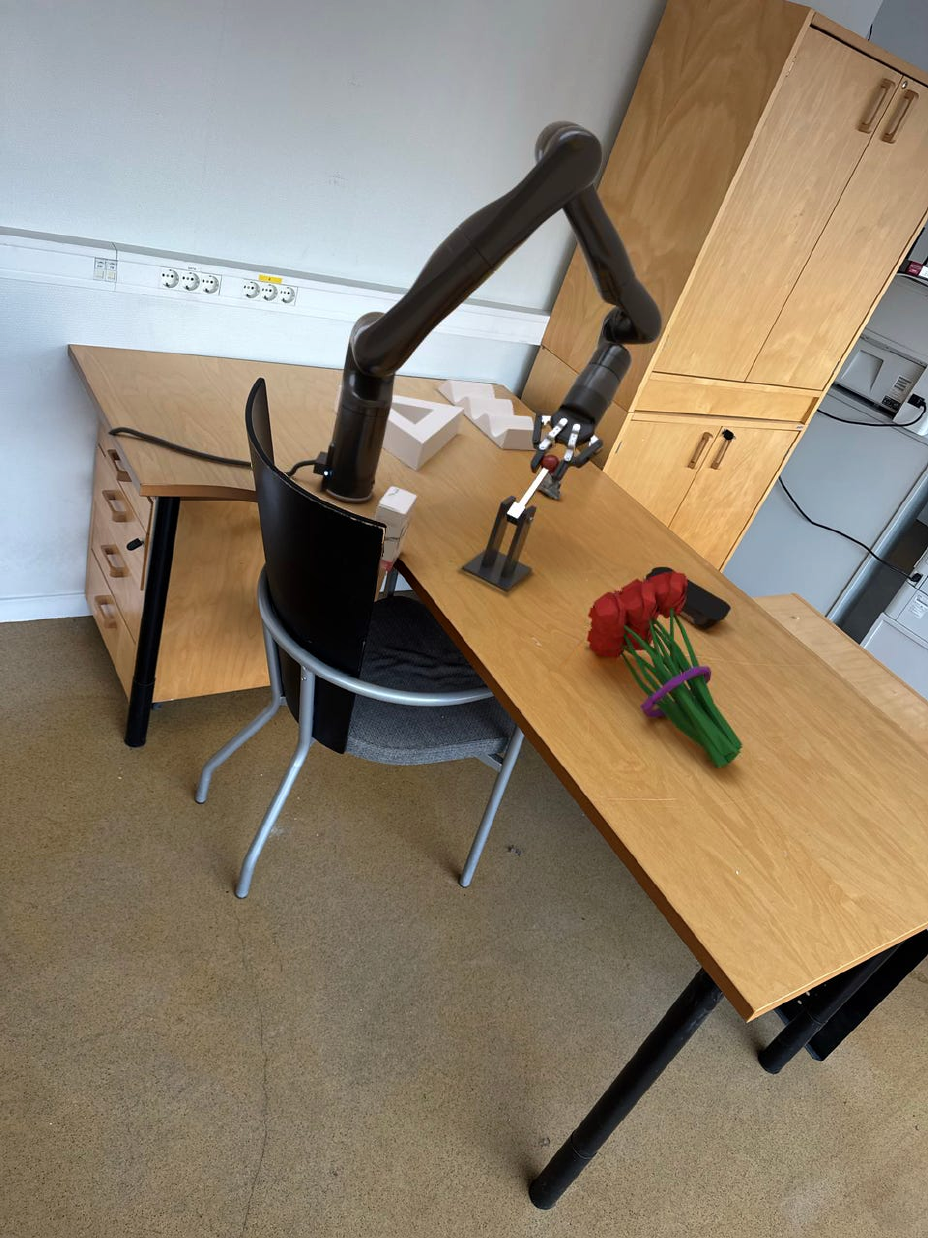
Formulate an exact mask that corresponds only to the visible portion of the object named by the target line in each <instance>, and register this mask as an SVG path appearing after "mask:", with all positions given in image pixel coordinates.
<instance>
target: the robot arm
mask: <svg viewBox="0 0 928 1238" xmlns="http://www.w3.org/2000/svg"><path fill="white" fill-rule="evenodd" d="M533 158H534V164H535V165H534V166H533V167H532V168H531V170H530V171H529V172H528V173H527V174H526V175H525V176H524V177H523V178H522V180H520V181H519V182H518V183H517V184H516V186H514V187H513V188H511V190H509V191H508V192H506V193H505V194H503V195H502V196H499V198H497V199H495V200H493V201H491V202H490V203H487V204H486V205H484V206H483V207H481V208H479V209H478V210H476V211H475V212H473V213H472V214H471V215H469V216H468V217H466V218H465V219H464V220H462V222H461V223H460V224H459V225H457V226H456V228H455V229H454V230H453V231H452V232H450V233H449V234H448V236H446V238H444V240H443V241H442V242H441V243H440V244H439V245H438V246H437V247H436V248H435V250H433V252H432V254H431V255H430V256H429V258H428V259H427V260H426V262H425V263H424V265H423V267H422V268H421V270H420V272H419V274H418V275H417V276H416V278H415V279H414V282H413V283H412V285H411V286H410V287H409V289H408V290H407V292H406V293H405V294H404V295H403V296H402V297H401V298H400V299H399V300H398V301H397V302H396V303H395V304H394V305H393V306H391V307H390V308H389V310H388V311H386V312H382V311H370V312H367V313H364V314H363V315H361V316H360V317H359V318H358V319H357V320H356V321H355V323H354V324H353V326H352V328H351V331H350V334H349V339H348V343H347V349H346V355H345V360H344V367H343V370H342V377H341V385H342V386H341V394H340V400H339V405H338V410H337V413H336V414H335V415H336V416H335V420H334V426H333V431H332V436H331V440H330V442H329V444H328V447H327V451H323V450H320V451H319V453H318V455H317V457H316V459H309V460H302V461H300V462H297V463H295V464H294V465H293V466H292V468H290V470H289V471H284V473H286V474H287V475H288V476H289V477H288V478H290V477H293V475H295V474H296V473H297V471H298V470H299V469H300V468H303V467H308V466H313V470H312V473H313V474H316V475H320V476H322V479H321V482H320V483H321V484H320V488H319V491H320V492H321V493H325V494H327V495H328V496H329V497H331V498H333V499H336V500H338V501H341V502H344V503H349V504H350V503H351V504H362V503H365V502H368V501H370V500H371V498H372V494H373V489H374V486H375V485H376V475H377V470H378V466H379V462H380V458H381V453H382V449H383V447H382V445H383V440H384V436H385V432H386V427H387V423H388V419H389V414H390V410H391V406H392V401H393V395H394V387H395V378H396V375H397V372H398V371H399V370H401V368H402V367H403V366H404V365H405V363H407V362H408V360H409V359H410V358H411V356H412V355H413V354H414V353H415V352H416V350H417V349H418V348H419V347H420V346H421V344H422V343H423V342H424V341H425V340H426V338H427V337H428V336H429V335H430V334H431V333H432V332H433V330H435V328H436V327H437V326H439V324H440V323H442V322H443V321H444V320H445V319H446V318H447V317H448V316H450V315H451V314H452V313H453V312H454V311H455V310H457V308H459V306H460V305H462V304H463V303H465V301H466V300H467V299H469V297H470V296H471V295H472V294H474V293H475V291H477V290H478V289H479V288H480V287H481V286H483V285H484V284H485V282H486V281H487V280H489V279H490V278H491V277H492V276H493V275H494V274H495V272H497V271H498V270H499V269H500V268H501V267H502V266H503V264H504V263H505V262H507V260H509V258H510V257H511V256H512V255H514V253H516V252H517V250H518V249H519V248H521V247H522V246H523V244H525V243H526V242H527V241H528V239H529V238H530V237H532V235H534V233H535V232H536V231H537V230H538V229H539V228H540V227H541V226H542V225H544V224H545V223H546V222H547V221H548V220H549V219H551V218H552V217H553V216H554V215H556V214H557V213H558V212H559V211H561V210H562V212H563V213H564V215H565V218H566V219H567V222H568V223H569V225H570V228H571V230H572V232H573V234H574V237H575V239H576V243H577V244H578V247H579V249H580V252H581V255H582V257H583V259H584V262H585V265H586V267H587V270H588V272H589V274H590V277H591V280H592V281H593V284H594V287H595V289H596V291H597V294H598V296H599V298H600V299H601V301H602V302H603V303H606V304H608V305H611V306H613V307H612V308H611V309H610V310H609V311H608V312H607V313H606V315H605V316H604V318H603V321H602V324H601V328H600V332H599V336H598V339H597V343H596V347H595V350H594V351H593V353H592V354H591V356H590V358H589V359H588V361H587V363H586V364H585V366H584V368H583V369H582V370H581V372H579V374H578V376H577V377H576V378H575V380H574V382H573V383H572V385H571V387H570V388H569V391H568V392H567V393H566V395H565V397H564V399H563V400H562V402H561V404H560V405H559V407H558V409H557V410H556V411H555V412H553V413H552V414H551V415H543V413H542V412H536V413H535V416H534V422H533V426H534V429H533V436H532V443H533V448H534V449H536V450H535V451H536V452H535V454H534V456H533V457H532V459H531V461H530V463H529V464H530V465H529V467H530V470H531V471H530V472H531V473H532V474H534V475H536V474H537V473H538V472H539V469H540V468H541V461H542V459H543V458H544V457H545V456H546V455H548V454H549V453H550V451H551V450H552V449H555V447H556V446H557V445H558V444H559V445H563V446H564V447H566V450H565V454H564V457H563V459H561V460H559V461H560V463H559V465H558V466H557V468H556V470H555V471H554V473H553V475H552V477H551V480H552V482H554V483H556V482H557V481H560V480H561V481H563V478H564V477H565V475H566V473H567V472H568V470H569V468H571V467H573V468H576V469H581V468H582V467H584V466H585V465H586V464H588V463H589V462H590V461H591V460H593V459H594V458H595V457H596V456H598V455H599V454H600V453H601V452H602V451H603V450H604V440H603V439H601V438H598V437H597V436H596V435H595V432H596V429H597V428H598V427H599V424H600V423H601V420H602V419H603V417H604V416H605V414H606V412H607V411H608V409H609V408H610V407H611V405H612V403H613V400H614V398H615V397H616V394H617V392H618V389H619V388H620V386H621V384H622V382H623V380H624V379H625V377H626V375H627V374H628V372H629V370H630V368H631V365H632V362H633V361H632V360H633V359H632V355H631V352H630V351H629V350H628V349H627V348H626V347H625V346H627V345H628V346H645V345H651V344H653V343H655V342H656V341H657V340H658V339H659V338H660V335H661V334H662V330H663V317H662V312H661V310H660V307H659V306H658V304H657V302H656V301H655V299H654V298H653V297H652V295H651V293H650V292H649V291H648V290H647V288H646V287H645V285H644V284H643V283H642V282H641V280H640V279H639V278H638V277H637V273H636V271H635V268H634V266H633V262H632V261H631V258H630V255H629V252H628V250H627V248H626V246H625V245H626V244H625V243H624V241H623V239H622V236H621V235H620V234H619V231H618V229H617V228H616V226H615V225H614V223H613V221H612V219H611V217H610V216H609V214H608V212H607V209H606V208H605V206H604V204H603V202H602V200H601V198H600V195H599V193H598V190H597V188H596V185H595V180H596V178H597V177H598V175H599V173H600V171H601V169H602V166H603V162H604V161H603V160H604V149H603V146H602V143H601V141H600V139H599V138H598V137H597V136H596V134H595V133H594V132H592V131H591V130H589V129H587V128H585V127H584V126H582V125H580V124H578V123H576V122H573V121H571V120H570V121H569V120H556V121H553V122H551V123H549V124H547V125H546V126H544V128H543V129H542V130H541V131H540V133H539V134H538V136H537V138H536V141H535V144H534V149H533ZM549 424H550V428H551V430H550V431H551V432H550V433H549V434H548V435H547V437H546V439H545V440H544V441H543V442H541V433H542V431H543V429H546V428H547V426H548V425H549ZM119 433H121V434H122V433H123V434H129V435H132V436H134V437H137V438H139V439H142V440H146V441H149V442H153V443H156V444H159V445H162V446H164V447H167V448H169V449H172V450H175V451H178V452H180V453H183V454H187V455H190V456H194V457H197V458H200V459H204V460H209V461H213V462H216V463H220V464H221V463H222V464H227V465H233V466H239V467H246V468H250V469H251V468H252V467H251V462H252V461H246V460H239V459H235V458H234V459H233V458H227V457H221V456H217V455H213V454H209V453H205V452H202V451H198V450H195V449H191V448H189V447H188V448H187V447H185V446H182V445H178V444H176V443H173V442H170V441H169V440H165V439H163V438H160V437H157V436H154V435H151V434H147V433H144V432H141V431H138V430H136V429H133V428H130V427H124V426H119V427H115V428H113V429H111V430H110V431H108V432H107V434H108V435H110V436H114V435H117V434H119ZM586 443H588V447H586V448H585V449H584V450H583V451H582V452H580V453H579V454H577V456H576V453H577V450H578V448H579V447H580V446H583V445H585V444H586ZM252 469H253V468H252Z"/></svg>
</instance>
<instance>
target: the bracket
mask: <svg viewBox="0 0 928 1238" xmlns="http://www.w3.org/2000/svg"><path fill="white" fill-rule="evenodd" d="M516 501H517V496H514V495H510V496H509V497H507V498H505V499H503V500H502V501H501V502H500V504H499V508H498V510H497V514H496V516H495V520H494V523H493V526H492V529H491V531H490V535H489V538H488V542H487V544H486V547H485V550H484V551H482V552H481V553H479V554H478V555H476V556H475V557H473V558H472V559H471V560H469V561H468V562H466V563H465V564H464V565H463V566H461V570H462V571H464V572H467V573H468V574H470V575H472V576H474V577H476V578H477V579H478V578H479V579H480V580H482V581H483V582H486V583H488V584H490V585H491V586H494V587H496V588H498V589H499V590H501V591H503V592H505V593H508V591H510V590H511V589H512V588H513V587H514V586H516V585H517V584H518V583H519V582H520V581H521V580H523V579H524V578H525V577H526V576H527V575H529V574H530V573H531V572H532V570H533V568H532V567H531V566H529V565H527V564H524V563H523V562H521V561H520V557H521V554H522V552H523V549H524V546H525V543H526V540H527V538H528V534H529V531H530V529H531V526H532V523H533V522H534V517H535V515H536V512H537V509H538V506H536V505H533V504H531V505H530V506H528V507H526V510H524V511H523V512H522V513H521V516H520V519H519V522H518V525H517V526H516V528H515V531H514V533H513V536H512V540H511V542H510V546H509V549H508V551H507V554H505V553H502V552H500V548H501V546H502V544H503V543H502V542H503V540H504V537H505V534H506V532H507V529H508V526H509V522H508V521H507V512H508V511H509V509H510V508H511V506H512V505H513V503H514V502H516Z"/></svg>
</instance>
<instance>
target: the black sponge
mask: <svg viewBox="0 0 928 1238" xmlns="http://www.w3.org/2000/svg"><path fill="white" fill-rule="evenodd" d="M673 571H675V570H674V569H673V568H671V567H668V566H656V567H652V569H651V571H650V572H649V573H647V574H645V579H646V580H648V581H649V578H650V577H653V576H656V575H660V574H662V573H665V572H668V573H669V572H673ZM731 609H732V607H731V605H729V603H727V602H726V601H725V600H724V599H722V598H720V597H719V596H717V595H715V594H714V593H711V592H710V591H709V590H706V589H705V588H703V587H702V586H700V585H699V584H696V583H695V582H693V581H691V580H689V578H687V589H686V602H685V603H684V605H683V607H682V608H681V610H682V611H683V612H682V613H679V614H678V615H679V616H680V617H682V618H683V619H686V621H688V622H690V623H692V624H693V625H694V626H696V627H698V628H699V629H702V630H709V629H711V628H713V627H715V626H716V625H717V624H718V623H719V622H721V621H723V620H725V619H726V618H727V616H728V614H729V613H730V611H731Z"/></svg>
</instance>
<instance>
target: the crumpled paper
mask: <svg viewBox="0 0 928 1238" xmlns="http://www.w3.org/2000/svg"><path fill="white" fill-rule="evenodd" d="M536 474H537V476H538V475H539V474H540V472H537V473H536ZM552 475H553V474H548V475H547V477H546V478H545V479H544V481H543V482H542V484H541V485H540V487H539V488H538V490H537V491H539V492H540V491H541V492H542V493H544V494H545V495H547V496H548V497H549V498H552V499H555V500H560V499H561V497H562V492H561V490H560V489H561V486H562V483H563V480H560V481H557V482H556V483H554V482H552V480H551V477H552ZM537 476H536V477H535V478H534V480H535V479H536V478H537Z"/></svg>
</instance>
